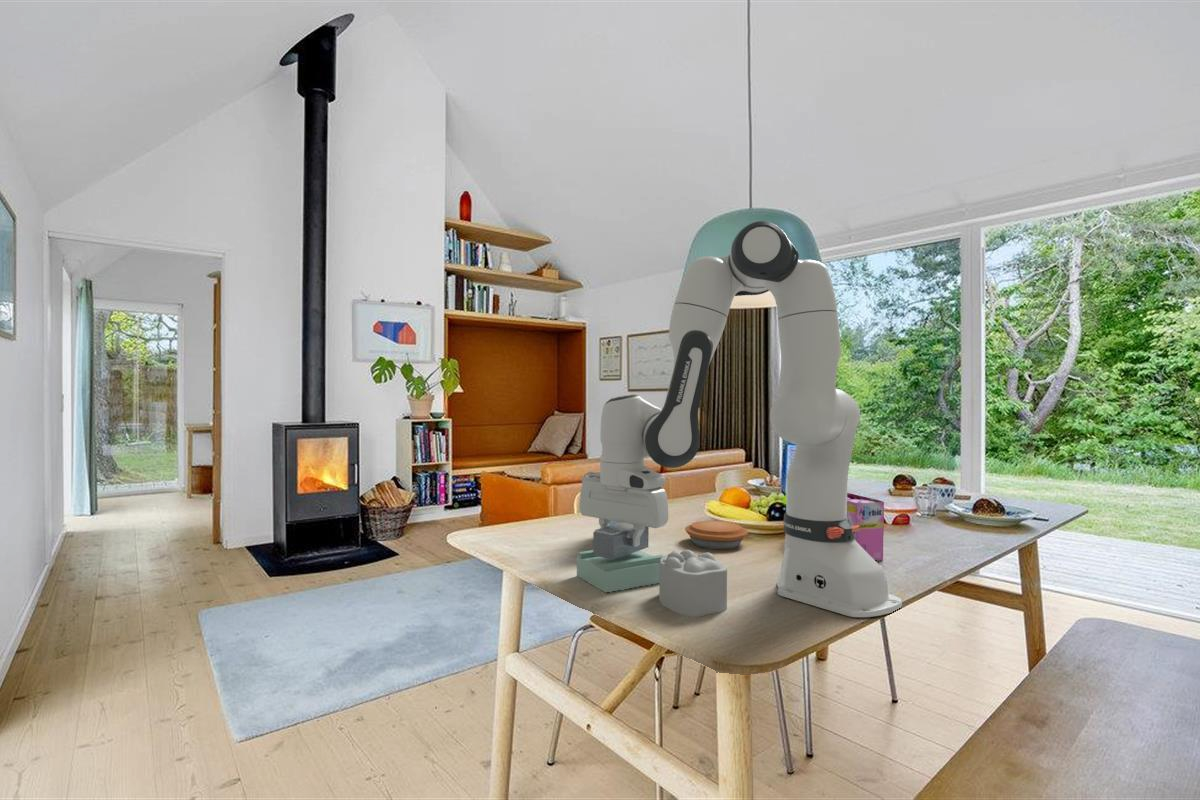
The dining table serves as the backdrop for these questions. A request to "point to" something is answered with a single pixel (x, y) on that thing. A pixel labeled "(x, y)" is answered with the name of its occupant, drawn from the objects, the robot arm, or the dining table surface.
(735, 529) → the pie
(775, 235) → the robot arm
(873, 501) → the gum box
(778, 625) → the dining table surface
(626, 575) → the stand
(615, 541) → the block
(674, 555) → the grey lumpy block
